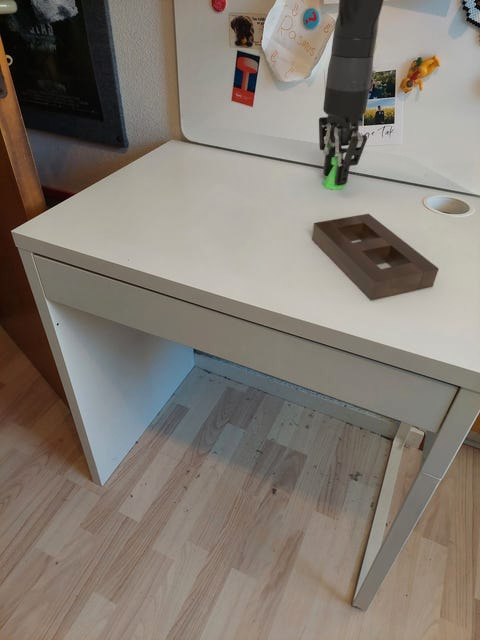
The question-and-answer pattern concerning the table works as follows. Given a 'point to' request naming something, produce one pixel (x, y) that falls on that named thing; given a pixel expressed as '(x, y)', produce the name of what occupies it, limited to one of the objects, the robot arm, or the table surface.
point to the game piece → (332, 176)
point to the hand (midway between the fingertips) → (334, 179)
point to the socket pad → (373, 256)
